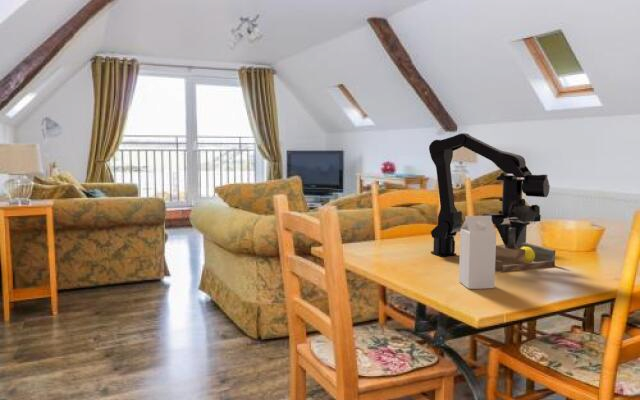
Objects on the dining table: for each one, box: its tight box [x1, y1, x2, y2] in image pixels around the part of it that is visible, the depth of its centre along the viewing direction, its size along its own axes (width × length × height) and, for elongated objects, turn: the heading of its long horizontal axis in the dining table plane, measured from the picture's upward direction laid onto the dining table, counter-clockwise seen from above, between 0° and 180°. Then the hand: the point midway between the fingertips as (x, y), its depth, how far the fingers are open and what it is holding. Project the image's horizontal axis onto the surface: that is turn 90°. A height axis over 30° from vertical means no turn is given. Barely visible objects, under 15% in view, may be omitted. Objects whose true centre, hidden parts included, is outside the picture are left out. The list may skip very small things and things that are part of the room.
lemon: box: [520, 247, 535, 263], centre depth 161 cm, size 7×5×5 cm
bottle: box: [509, 220, 528, 248], centre depth 182 cm, size 6×6×15 cm
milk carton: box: [458, 215, 497, 290], centre depth 135 cm, size 7×7×19 cm
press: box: [495, 242, 556, 273], centre depth 160 cm, size 21×13×5 cm, turn 110°
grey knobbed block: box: [495, 228, 525, 265], centre depth 159 cm, size 4×9×11 cm, turn 20°
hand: (510, 244), depth 159 cm, fingers closed on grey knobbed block, 3 cm apart
